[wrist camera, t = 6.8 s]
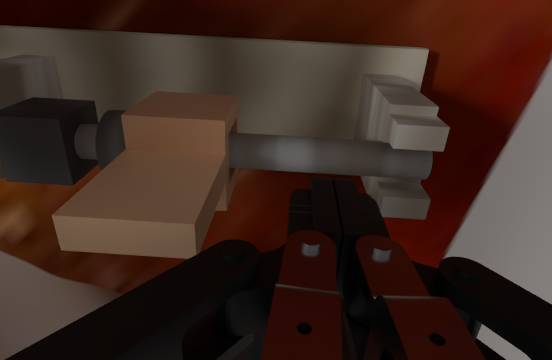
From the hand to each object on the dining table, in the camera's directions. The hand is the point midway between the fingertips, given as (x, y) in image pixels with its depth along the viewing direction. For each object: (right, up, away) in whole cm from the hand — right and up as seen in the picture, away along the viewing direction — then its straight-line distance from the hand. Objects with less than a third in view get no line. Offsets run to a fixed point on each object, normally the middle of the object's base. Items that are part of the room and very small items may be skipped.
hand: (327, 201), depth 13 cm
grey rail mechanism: (-6, +6, +11) cm, 13 cm away
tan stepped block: (-6, +3, +5) cm, 8 cm away
